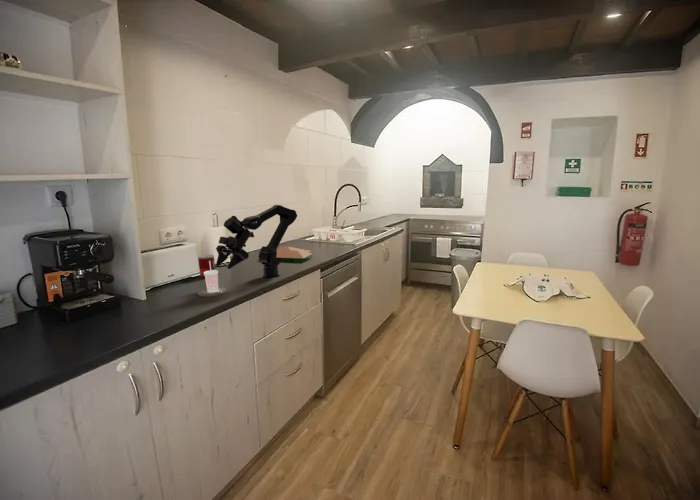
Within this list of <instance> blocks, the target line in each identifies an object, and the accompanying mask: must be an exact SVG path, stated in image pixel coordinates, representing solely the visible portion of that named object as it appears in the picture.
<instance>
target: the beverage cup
mask: <svg viewBox="0 0 700 500" xmlns="http://www.w3.org/2000/svg"><path fill="white" fill-rule="evenodd" d="M209 264H210V271H205V272H204V275H205V278H204V280H205V284H206V289H207V292H209V293H212V292H217V291H218V288H219V275H218V274H219V270H217V269H215V270H211V263H210V261H209Z"/></svg>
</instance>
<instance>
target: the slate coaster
mask: <svg viewBox="0 0 700 500" xmlns="http://www.w3.org/2000/svg"><path fill="white" fill-rule="evenodd" d="M227 292H228V291H227V288H226V287H218V291H217V292H212V293H209V292H207V288H205V289H203V290H202V289H201V290H200V291H198V294H197V295H198V296H199V297H203V298H211V297H216V296H217V297H218V296H222V295H224V294H226V293H227Z"/></svg>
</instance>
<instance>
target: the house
mask: <svg viewBox="0 0 700 500" xmlns="http://www.w3.org/2000/svg"><path fill="white" fill-rule="evenodd" d="M312 255H314V254H313V253H312V251H311V250H307V249H302V248H297V247H293V246H286V245H285V246H281V247H278V248H277V255H276V258H278V259H280V263H281V262H283V260H284V259H287V260H286V262H287V263H289V262H290V259H293V261H294V263H300V261H301V262H304V261H305V260H306V261H307V260H308V259H309V260H310V258H311V259H312Z"/></svg>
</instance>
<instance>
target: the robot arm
mask: <svg viewBox="0 0 700 500" xmlns="http://www.w3.org/2000/svg"><path fill="white" fill-rule="evenodd" d="M277 215H278V216H279V223H278V226H277V227H276V229H275V231H274V233H273V235H272V236H271V237H270V240H269V242H268V244H267V245H266V246H265V245H264V246H263V245H262V246H261V249H260V250H259V251H258V260H259V261H260V263H261V265H263V269H262V270H263V271H262V272H263V275H262V277H264V278H268V279H271V278H277V277H279V276H281V275H280V274H279V271H278V270H279V269H278V266H279V265H280V263H281V259H280V258H276V255H277V249H278V248H279V246H280V243H281V241H282V240H283V237H284V235H285V234H286V232H287V229H289V226H290V225H293V223H294V222H295V221H296V219H297V217H298V214H297V211H296V210H295V209H291V208H287V207H285V206H283V205H280V204H275V205H272V206H271V207H269V208H267V209H265V210H264V211H262V212H260V213H258V214H256V215H252V216H251V215H250V216H247V217H245V218H243V220H241V221H240V219H238V217H237V216H236V215H231V216H230V217H229V218H228V219H226V220H225V221H224V223H223V227H224V228H226V229H227V231H228V232H230V233H232V234H233V235H235V236H228V237H225V236H220V237H219V240H218V244H219V245H217V246H216V247H215V250H216V253H217V254H218V255H217V260H216V263H215V267H219V266H221V265H222V264H223V263H224V262H225V261H227V259H229V257H230V255H232V257H231V260H230V261H229V264H228V265H227V267H226V269H227V270H230V269H231V268H234V267H235V266H236V265H238V264H240V263H242V262H243V261H245V260H248V259H249V256H250V253H248V252H247V251H246V250H245V249H243V248H246V246H247V245H246V243H247V241H248V240H249V238H252V239H253V238H255V235H254V234H255V233H254V231H255V230H257V229H259V228H260V227H261V226H262V225H263V223H265V222H266V221H268V220H269V219H272V218H273V217H275V216H277ZM250 230H251V231H250ZM252 230H253V231H252Z"/></svg>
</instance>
